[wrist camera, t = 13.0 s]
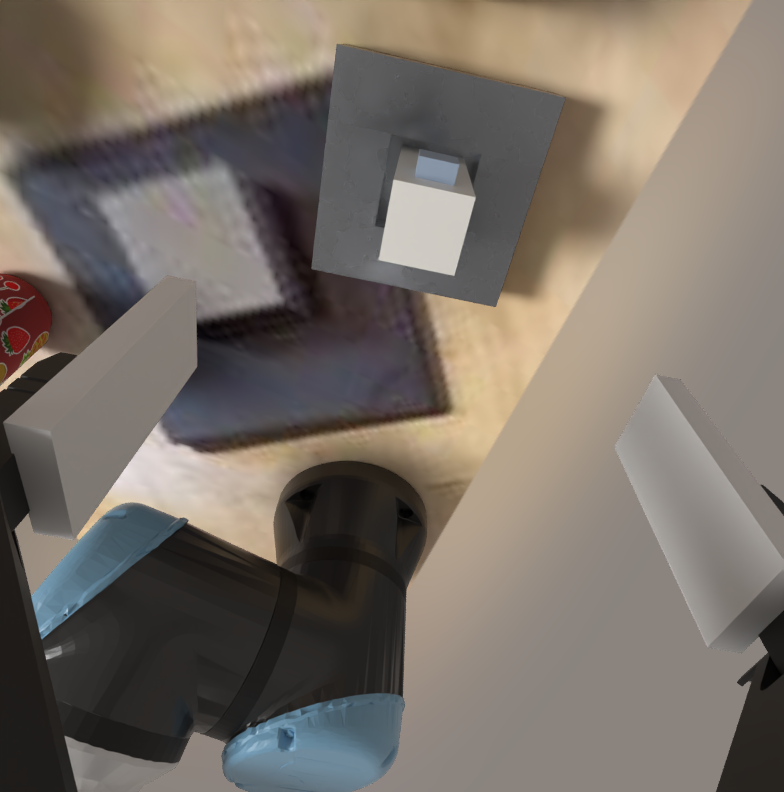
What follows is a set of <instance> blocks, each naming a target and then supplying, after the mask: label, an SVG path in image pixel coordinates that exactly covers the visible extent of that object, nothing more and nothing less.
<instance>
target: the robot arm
mask: <svg viewBox="0 0 784 792" xmlns="http://www.w3.org/2000/svg"><path fill="white" fill-rule="evenodd" d="M196 368H197V322H196V281H192V280H187V279H182V278H177V277H172V276H166V277H165V278H164V279H163V280H162V281H161V282H160V283H159V284H157V285H156V286H155V287H154V288H153V289H152V290H151V291H150V292H148V293H147V294H146V295H145V296H144V297H143V298H142V299H141V300H139V301H138V302H137V303H136V304H135V305H134V306H133V307H132V308H131V309H129V310H128V311H127V312H126V313H125V314H124V315H123V316H122V317H120V318H119V319H118V320H117V321H116V322H115V323H114V324H113V325H111V326H110V327H109V328H108V329H107V330H106V331H105V332H104V333H103V334H101V335H100V336H99V337H98V338H97V339H96V340H95V341H94V342H92V343H91V344H90V345H89V346H88V347H87V348H86V349H85V350H84V351H82V352H81V353H80V354H79V355H78V356H77V355H72V354H67V353H62V352H60V353H58V354H56V355H53V356H51V357H48V358H46V359H44V360H41V361H39V362H37V363H36V364H34V365H33V366H32V367H31V368H29V369H28V370H27V371H26V372H25V373H23V374H22V375H21V378H17V379H16V380H15V381H14V382H12V383H11V384H10V385H9V386H8V388H7V390H6V389H4V390H3V391H1V392H0V792H139V791H140V789H142V788H143V786H145V785H147V784H148V783H150V782H152V781H154V780H155V779H157V778H159V777H161V776H162V775H164V774H166V773H168V772H169V771H171V770H173V769H174V768H176V766H177V765H178V762H179V761H180V759H181V756H182V754H183V752H184V749H185V747H186V745H187V743H188V741H189V739H190V737H191V735H192V734H193V732H198V733H200V734H204V735H207V736H209V737H212V738H215V739H218V740H220V741H223V742H225V743H226V746H225V747H224V750H223V753H222V761H223V765H222V767H223V773H224V775H225V777H226V779H227V780H228V781H230V782H234V783H235V785H236V786H237V787H238V788H240V789H243V790H245V791H248V792H352V791H355V790H358V789H361V788H363V787H366V786H368V785H370V784H372V783H374V782H375V781H377V780H378V779H380V778H381V777H382V776H383V775H385V774H386V773H387V771H388V770H389V769H390V768H391V766H392V765H393V763H394V761H395V759H396V756H397V753H398V747H399V738H400V730H401V720H402V712H403V710H404V707H405V702H404V699H403V677H404V647H405V645H404V644H405V618H406V617H405V616H406V590H407V587H408V584H409V582H410V580H411V577H412V575H413V573H414V570H415V568H416V566H417V563H418V561H419V559H420V556H421V554H422V552H423V549H424V546H425V542H426V535H427V516H426V510H425V507H424V504H423V502H422V500H421V498H420V496H419V495H418V494H417V492H416V491H415V490H414V489H413V488H412V487H411V486H410V485H409V484H408V483H407V482H406V481H404V480H403V479H402V478H400V477H399V476H397V475H395V474H393V473H392V472H390V471H387V470H385V469H383V468H380V467H377V466H374V465H370V464H365V463H359V462H331V463H325V464H321V465H317V466H314V467H311V468H309V469H307V470H305V471H303V472H301V473H300V474H298V475H297V476H295V477H294V478H293V479H292V480H291V481H290V482H289V483H288V484H287V485H286V487H285V488H284V490H283V491H282V493H281V496H280V499H279V502H278V505H277V508H276V511H275V516H274V536H275V548H276V559H277V564H275V563H273V562H270V561H268V560H266V559H264V558H262V557H259V556H257V555H255V554H253V553H251V552H248V551H246V550H244V549H242V548H239V547H237V546H235V545H233V544H231V543H229V542H226V541H224V540H222V539H220V538H218V537H216V536H214V535H212V534H210V533H208V532H205V531H203V530H201V529H199V528H197V527H195V526H193V525H191V524H189V523H187V522H188V521H189V520H187V519H186V518H176V517H174V516H171V515H169V514H166V513H164V512H161V511H159V510H156V509H154V508H151V507H149V506H146V505H144V504H140V503H125V504H121V505H118V506H116V507H114V508H113V509H111V510H110V511H108V512H107V513H106V514H105V515H103V516H102V517H101V518H100V519H99V520H98V521H97V522H96V523H95V524H94V525H93V526H92V527H91V528H90V529H89V531H88V532H87V533H86V534H85V535H84V536H83V537H82V538H81V539H80V540H79V541H78V542H77V544H76V545H75V546H74V547H73V548H72V549H71V550H70V551H69V553H68V554H67V555H66V556H65V557H64V558H63V559H62V560H61V562H60V563H59V564H58V565H57V566H56V568H55V569H54V570H53V571H52V572H51V574H49V576H48V577H47V578H46V579H45V581H44V582H43V583H42V584H41V585H40V587H39V588H38V589H37V590H36V592H35V593H34V594H33V595H32V596H31V594H30V590H29V585H28V581H27V577H26V573H25V569H24V564H23V560H22V556H21V552H20V548H19V544H18V539H17V536H16V533H15V528H16V527H17V525H18V524H19V523H20V522H21V521H22V520H23V519H24V517H25V516H26V515H27V514H28V513H29V517H30V520H31V524H32V527H33V531H34V533H36V534H42V535H48V536H54V537H60V538H65V539H72V540H74V539H75V538H76V537H77V535H78V534H79V532H80V531H81V530H82V528H83V527H84V525H85V524H86V523H87V521H88V520H89V518H90V517H91V516H92V514H93V513H94V511H95V510H96V508H97V507H98V506H99V504H100V503H101V501H102V500H103V499H104V497H105V496H106V494H107V493H108V492H109V490H110V489H111V487H112V486H113V485H114V483H115V482H116V480H117V479H118V478H119V476H120V475H121V473H122V472H123V471H124V469H125V468H126V466H127V465H128V463H129V462H130V461H131V459H132V458H133V456H134V455H135V454H136V452H137V451H138V449H139V448H140V447H141V445H142V444H143V442H144V441H145V440H146V438H147V437H148V435H149V434H150V433H151V431H152V430H153V428H154V427H155V426H156V424H157V423H158V421H159V420H160V418H161V417H162V416H163V414H164V413H165V411H166V410H167V409H168V407H169V406H170V404H171V403H172V402H173V400H174V399H175V397H176V396H177V395H178V393H179V392H180V390H181V389H182V388H183V386H184V385H185V383H186V382H187V381H188V379H189V378H190V376H191V375H192V373H193V372H194V371H195V369H196ZM615 450H616V452H617V454H618V456H619V458H620V460H621V462H622V465H623V467H624V469H625V471H626V473H627V475H628V478H629V480H630V482H631V484H632V486H633V488H634V491H635V493H636V495H637V497H638V499H639V501H640V503H641V506H642V508H643V510H644V512H645V514H646V516H647V519H648V521H649V523H650V525H651V527H652V529H653V531H654V534H655V536H656V538H657V540H658V542H659V544H660V546H661V549H662V551H663V553H664V555H665V557H666V559H667V562H668V564H669V566H670V568H671V570H672V572H673V575H674V577H675V579H676V581H677V583H678V585H679V587H680V590H681V592H682V594H683V596H684V598H685V600H686V602H687V605H688V607H689V609H690V611H691V613H692V615H693V618H694V620H695V622H696V624H697V626H698V628H699V631H700V632H701V635H702V637H703V639H704V641H705V643H706V646H707V647H708V648H714V649H720V650H725V651H732V652H737V653H742V652H743V651H744V650H745V649H746V648H747V647H748V646H750V644H752V642H754V641H755V640H756V639H757V638H758V637H760V639H761V640H762V643H763V644H764V646H765V648H766V650H767V651H768V653H767V654H766V655H765V656H764V657H763V658H762V659H761V660H759V661H758V662H757V663H756V664H755V665H754V666H753V667H752V668H751V669H750V670H748V671H747V672H746V673H745V674H744V675H743V676H742V677H741V678H740V679H739V680H738V682H737V683H738V684H740V685H741V686H743V685H744V684H745V683H746V682H748V681H752V682H751V685H750V689H749V691H748V694H747V698H746V701H745V704H744V707H743V710H742V713H741V716H740V719H739V722H738V725H737V729H736V732H735V735H734V738H733V741H732V744H731V747H730V750H729V754H728V757H727V760H726V763H725V766H724V769H723V772H722V775H721V778H720V781H719V784H718V787H717V791H716V792H784V503H783V502H782V501H781V500H780V499H779V498H778V497H776V496H775V495H774V494H773V493H772V492H770V491H769V490H768V489H767V488H766V487H765V486H763V485H760V484H759V483H758V482H757V480H756V479H755V477H754V476H753V475H752V473H751V472H750V471H749V469H748V468H747V467H746V465H745V464H744V463H743V461H742V460H741V459H740V457H739V456H738V455H737V453H736V452H735V451H734V449H733V448H732V447H731V446H730V444H729V443H728V442H727V440H726V439H725V438H724V436H723V435H722V434H721V432H720V431H719V430H718V428H717V427H716V426H715V425H714V423H713V422H712V421H711V419H710V418H709V416H708V415H707V414H706V413H705V411H704V410H703V408H702V407H701V406H700V404H699V403H698V402H697V401H696V399H695V398H694V397H693V395H692V394H691V393H690V391H689V390H688V389H687V388H686V386H685V385H684V383H683V382H682V381H681V379H675V378H671V377H666V376H660V375H655V376H654V378H653V379H652V381H651V383H650V385H649V387H648V388H647V390H646V392H645V394H644V395H643V397H642V399H641V401H640V402H639V405H638V406H637V408H636V410H635V411H634V413H633V415H632V417H631V419H630V420H629V422H628V424H627V426H626V427H625V429H624V431H623V433H622V435H621V436H620V438H619V440H618V442H617V443H616V445H615Z"/></svg>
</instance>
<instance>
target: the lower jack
mask: <svg viewBox="0 0 784 792" xmlns="http://www.w3.org/2000/svg"><path fill="white" fill-rule="evenodd" d="M564 101H565V97H563V96H560V95H558V94H555V93H552V92H547V91H543V90H539V89H534V88H530V87H526V86H522V85H517V84H513V83H509V82H505V81H500V80H496V79H492V78H488V77H483V76H479V75H475V74H470V73H466V72H462V71H458V70H453V69H449V68H445V67H441V66H436V65H432V64H428V63H424V62H419V61H415V60H411V59H407V58H402V57H398V56H394V55H389V54H385V53H381V52H377V51H372V50H368V49H364V48H360V47H355V46H351V45H347V44H337V47H336V55H335V64H334V73H333V82H332V91H331V100H330V109H329V118H328V127H327V135H326V144H325V153H324V162H323V171H322V180H321V189H320V198H319V207H318V216H317V224H316V233H315V242H314V251H313V260H312V269H314V270H319V271H324V272H329V273H334V274H338V275H343V276H348V277H353V278H358V279H363V280H367V281H372V282H377V283H382V284H387V285H392V286H396V287H401V288H406V289H411V290H416V291H420V292H425V293H430V294H435V295H440V296H445V297H449V298H454V299H459V300H464V301H469V302H474V303H478V304H483V305H488V306H493V307H496V305H497V302H498V299H499V296H500V293H501V290H502V287H503V284H504V281H505V278H506V275H507V272H508V269H509V266H510V263H511V260H512V257H513V254H514V251H515V248H516V245H517V242H518V239H519V236H520V233H521V230H522V227H523V224H524V221H525V218H526V215H527V212H528V209H529V206H530V203H531V200H532V197H533V194H534V191H535V188H536V185H537V182H538V179H539V176H540V173H541V170H542V167H543V164H544V161H545V158H546V155H547V152H548V149H549V146H550V143H551V140H552V137H553V134H554V131H555V128H556V125H557V122H558V119H559V116H560V113H561V110H562V107H563V104H564ZM402 145H405V146H409V147H414V148H418V149H423V150H427V151H432V152H436V153H441V154H445V155H450V156H454V157H459V158H463V159H464V160H465V164H466V167H467V170H468V173H469V177H470V180H471V183H472V187H473V190H474V193H475V196H476V198H475V202H474V206H473V209H472V213H471V217H470V220H469V224H468V228H467V231H466V235H465V239H464V242H463V246H462V250H461V253H460V257H459V260H458V264H457V268H456V271H455V275H454V276H452V275H448V274H443V273H438V272H433V271H428V270H424V269H419V268H414V267H409V266H404V265H400V264H395V263H390V262H385V261H380V260H379V255H380V250H381V244H382V239H383V234H384V228H385V223H386V217H387V212H388V207H389V201H390V196H391V190H392V185H393V179H394V176H395V172H396V168H397V164H398V160H399V156H400V152H401V148H402Z"/></svg>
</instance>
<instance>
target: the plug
mask: <svg viewBox="0 0 784 792" xmlns="http://www.w3.org/2000/svg"><path fill="white" fill-rule="evenodd" d="M475 198H476V196H475V193H474V190H473V187H472V183H471V180H470V177H469V173H468V170H467V167H466V164H465V160H464V159H463V158H459V157H454V156H450V155H445V154H441V153H436V152H432V151H427V150H423V149H418V148H414V147H409V146H405V145H402V148H401V152H400V156H399V160H398V164H397V168H396V172H395V176H394V179H393V185H392V190H391V196H390V201H389V207H388V212H387V217H386V223H385V228H384V234H383V239H382V244H381V250H380V255H379V260H380V261H385V262H390V263H395V264H400V265H404V266H409V267H414V268H419V269H424V270H428V271H433V272H438V273H443V274H448V275H452V276H454V275H455V271H456V268H457V264H458V260H459V257H460V253H461V250H462V246H463V242H464V239H465V235H466V231H467V228H468V224H469V220H470V217H471V213H472V209H473V206H474V202H475Z"/></svg>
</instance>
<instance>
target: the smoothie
mask: <svg viewBox="0 0 784 792" xmlns="http://www.w3.org/2000/svg"><path fill="white" fill-rule="evenodd" d="M51 324H52V315H51V311H50V309H49V306H48V304H47V302H46V301H45V299H44V298H43V297H42V295H41V294H40V293H39V292H38V291H37V290H36V289H35V288H34V287H32V286H31V285H30V284H29V283H27V282H25V281H23V280H21V279H20V278H18V277H14V276H11V275H7V274H0V385H1V384H2V383H4V382H5V381H6V380H7V379H8V378H9V377H10V376H11V375H12V374H13V373H14V372H15V371H16V370H17V369H18V368H19V367H21V366H22V365H23V364H24V363H25V362H26V361H27V360H28V359H29V358H30V357H31V356H32V355H33V354H34V353H35V352H37V351H38V350H39V349H40V348H41V347H42V346H43V345H44V344H45V343H46V342H47V340H48V337H49V334H50V327H51Z"/></svg>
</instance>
